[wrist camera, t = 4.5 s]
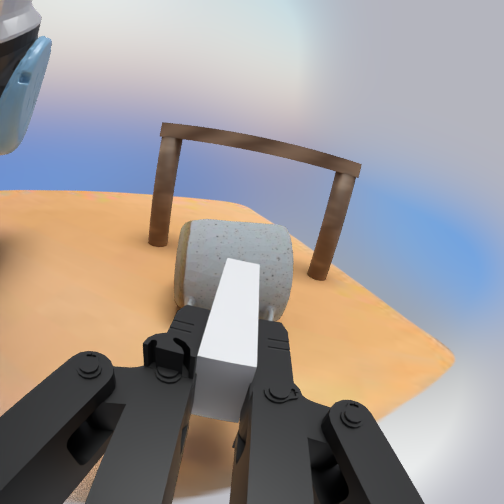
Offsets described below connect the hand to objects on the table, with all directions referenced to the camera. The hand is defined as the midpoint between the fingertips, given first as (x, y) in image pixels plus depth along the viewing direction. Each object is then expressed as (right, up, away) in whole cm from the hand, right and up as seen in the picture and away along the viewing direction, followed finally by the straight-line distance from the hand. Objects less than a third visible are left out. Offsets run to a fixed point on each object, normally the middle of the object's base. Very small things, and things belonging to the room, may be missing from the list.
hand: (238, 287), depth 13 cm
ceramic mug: (-1, -4, +9) cm, 10 cm away
